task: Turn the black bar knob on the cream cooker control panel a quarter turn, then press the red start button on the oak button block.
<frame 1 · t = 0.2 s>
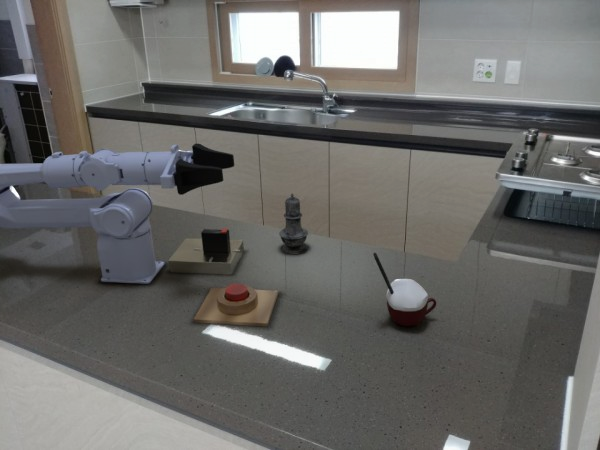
hand: (228, 167, 91), 21 cm above the worktop, tool horizontal, fingers open, 7 cm apart
salt shaker: (294, 249, 109), on the worktop
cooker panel: (208, 261, 105), on the worktop
button block: (238, 307, 89), on the worktop
temp knob: (215, 240, 103), point 5 cm above the worktop, hinge at 0.0°
cocoa: (403, 321, 85), on the worktop
start button: (236, 292, 88), point 3 cm above the worktop, slide at 0.1 cm
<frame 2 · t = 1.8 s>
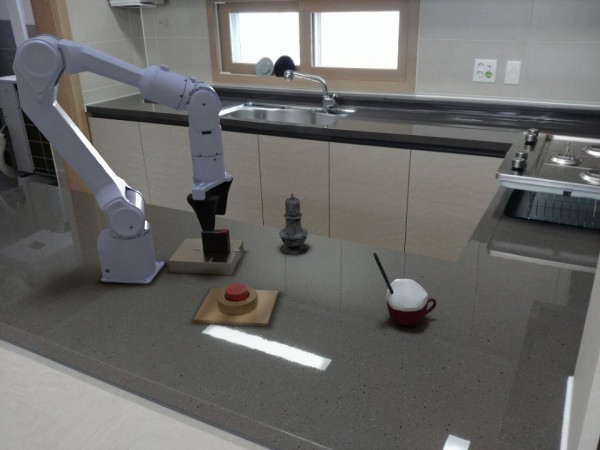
hand: (214, 222, 102), 8 cm above the worktop, tool pointing down, fingers open, 7 cm apart
nothing on the worktop moved.
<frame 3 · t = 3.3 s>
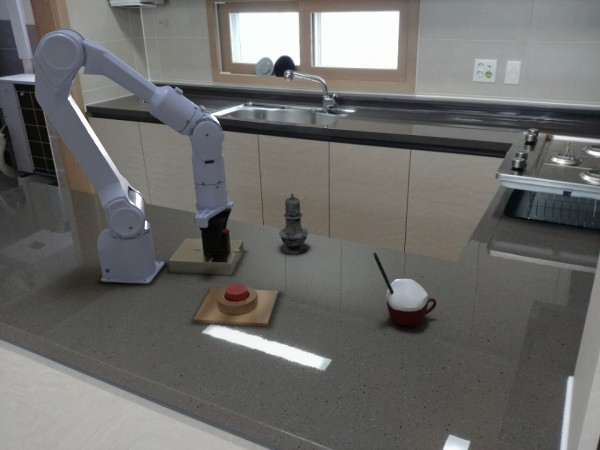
hand: (216, 247, 104), 3 cm above the worktop, tool pointing down, fingers closed on temp knob, 2 cm apart
temp knob: (215, 240, 103), point 5 cm above the worktop, hinge at -0.1°, touching gripper
everything else where it was.
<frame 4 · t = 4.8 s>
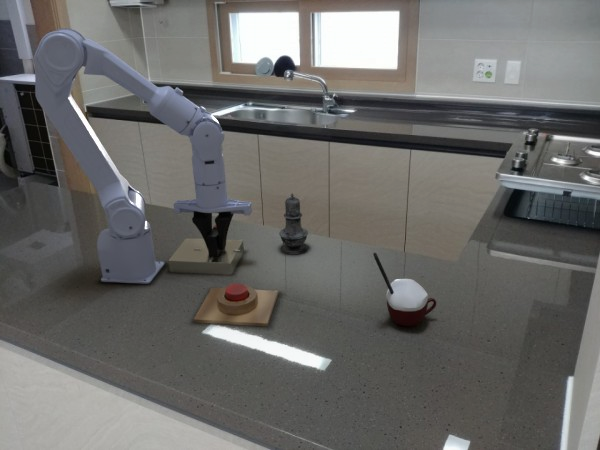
hand: (216, 247, 104), 3 cm above the worktop, tool pointing down, fingers closed on temp knob, 2 cm apart
temp knob: (215, 240, 103), point 5 cm above the worktop, hinge at 89.8°, touching gripper
everything else where it was.
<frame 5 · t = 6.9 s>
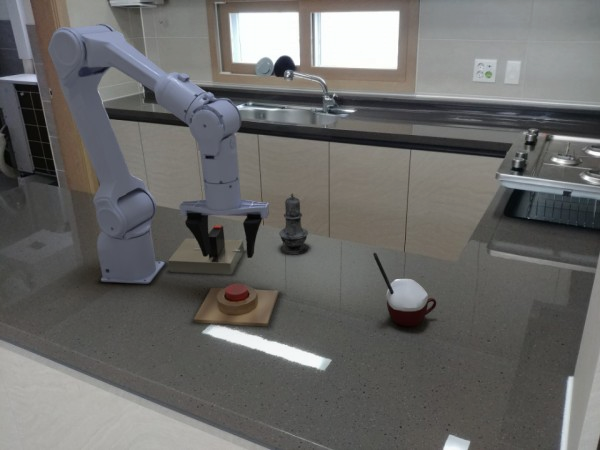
hand: (228, 254, 91), 7 cm above the worktop, tool pointing down, fingers open, 7 cm apart
temp knob: (215, 240, 103), point 5 cm above the worktop, hinge at 89.9°
everything else where it was.
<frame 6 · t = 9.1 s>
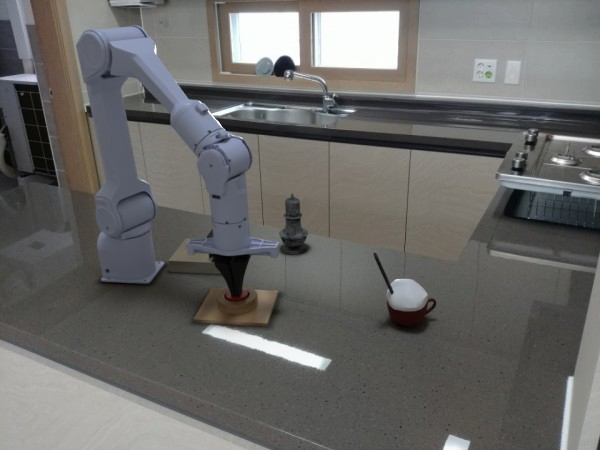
hand: (236, 293, 88), 3 cm above the worktop, tool pointing down, fingers closed, pressing on start button
start button: (237, 297, 88), point 2 cm above the worktop, slide at -0.7 cm, touching gripper
everything else where it was.
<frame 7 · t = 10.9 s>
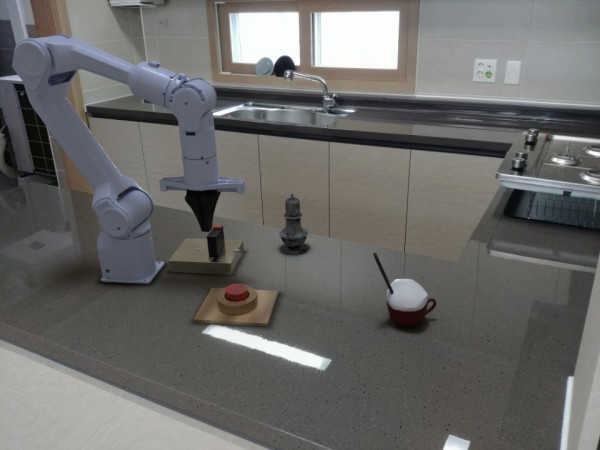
hand: (206, 229, 95), 10 cm above the worktop, tool pointing down, fingers closed
start button: (236, 293, 88), point 3 cm above the worktop, slide at 0.1 cm
everything else where it was.
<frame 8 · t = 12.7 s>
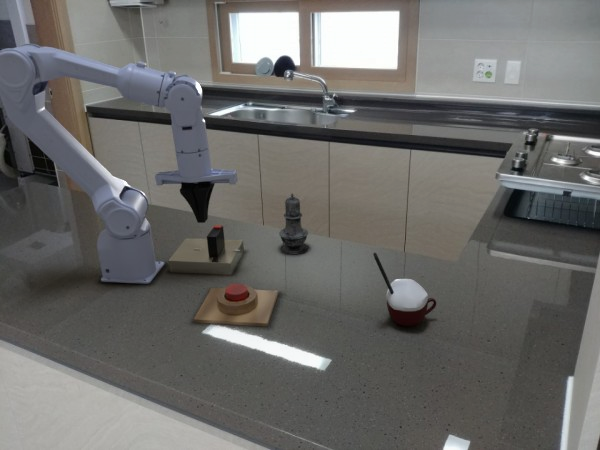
hand: (202, 220, 99), 10 cm above the worktop, tool pointing down, fingers closed
nothing on the worktop moved.
at the end: temp knob at +90° (first picture: +0°); start button pushed in 1.2 cm at the most during the clip, back to where it started at the end; start button slide at 0.1 cm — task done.
